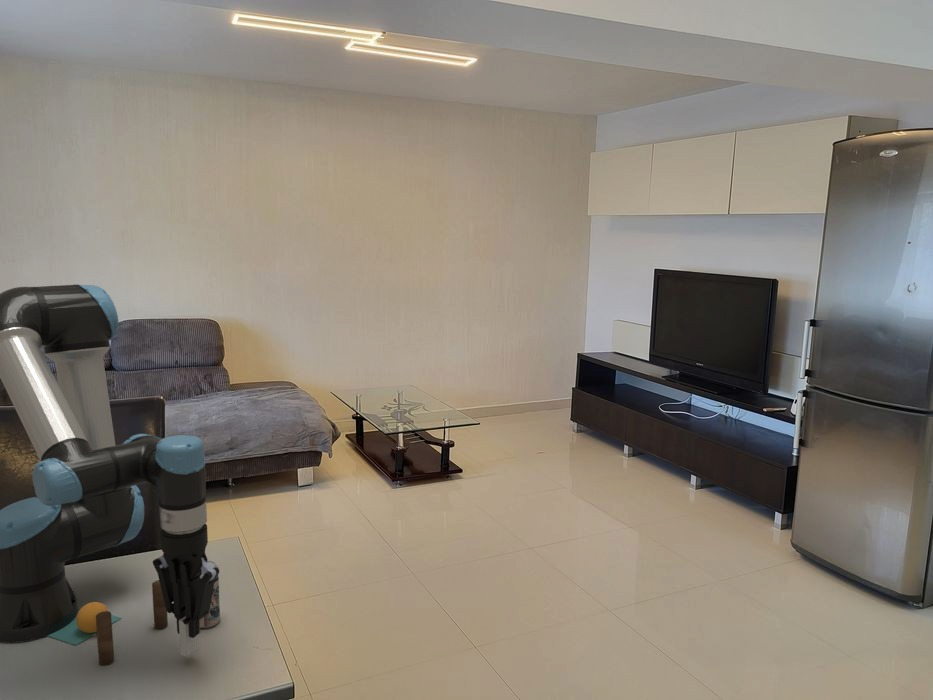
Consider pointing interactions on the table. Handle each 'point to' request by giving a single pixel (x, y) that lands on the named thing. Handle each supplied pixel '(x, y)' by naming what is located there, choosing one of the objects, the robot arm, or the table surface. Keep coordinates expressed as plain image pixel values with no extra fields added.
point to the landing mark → (75, 633)
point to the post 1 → (104, 638)
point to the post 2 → (159, 607)
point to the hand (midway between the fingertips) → (189, 651)
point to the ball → (89, 616)
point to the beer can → (212, 605)
